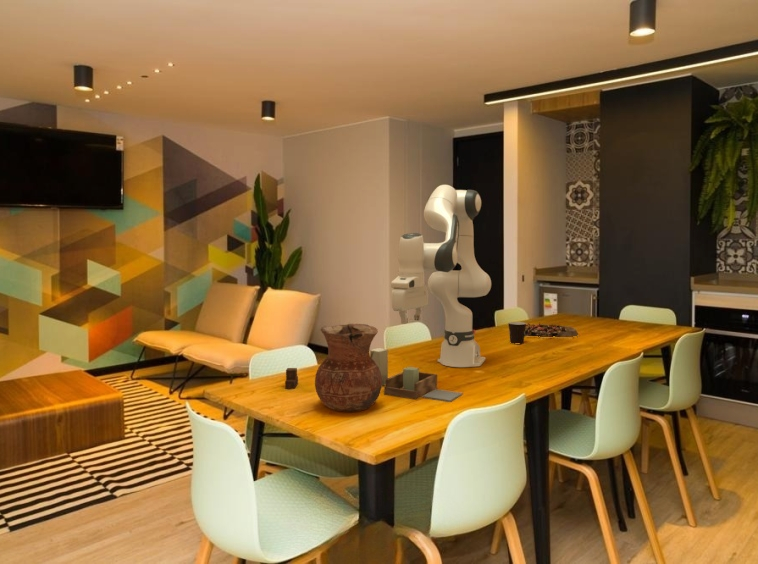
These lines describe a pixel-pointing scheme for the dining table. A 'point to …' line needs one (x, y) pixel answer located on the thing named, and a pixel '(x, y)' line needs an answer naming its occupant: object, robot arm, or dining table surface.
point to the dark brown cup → (517, 332)
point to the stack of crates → (291, 378)
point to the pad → (442, 395)
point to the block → (410, 377)
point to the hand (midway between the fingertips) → (411, 321)
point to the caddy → (421, 387)
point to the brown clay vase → (348, 369)
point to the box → (381, 362)
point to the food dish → (549, 331)
